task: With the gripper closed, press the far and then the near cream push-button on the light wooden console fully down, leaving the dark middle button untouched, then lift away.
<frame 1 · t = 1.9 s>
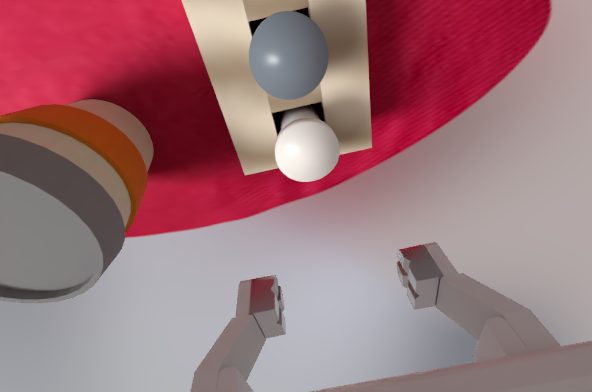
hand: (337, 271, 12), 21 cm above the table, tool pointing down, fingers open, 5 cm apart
console: (281, 39, 25), on the table
reusable coffee cup: (109, 141, 29), on the table
plunger middle: (286, 50, 20), point 7 cm above the table, slide at 0.0 cm
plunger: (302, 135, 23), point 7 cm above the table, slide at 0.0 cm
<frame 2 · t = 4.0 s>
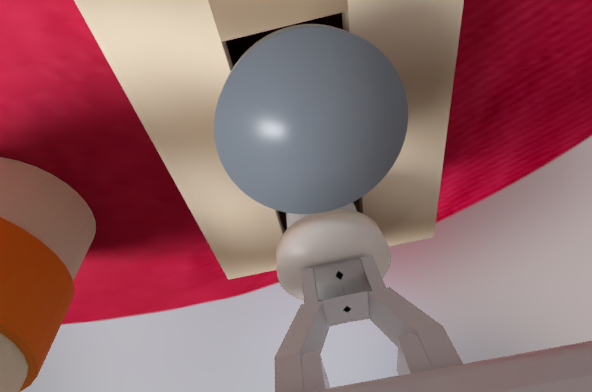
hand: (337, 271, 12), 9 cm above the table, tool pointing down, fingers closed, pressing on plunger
console: (286, 62, 15), on the table
reusable coffee cup: (25, 211, 20), on the table
plunger middle: (299, 99, 10), point 7 cm above the table, slide at 0.0 cm
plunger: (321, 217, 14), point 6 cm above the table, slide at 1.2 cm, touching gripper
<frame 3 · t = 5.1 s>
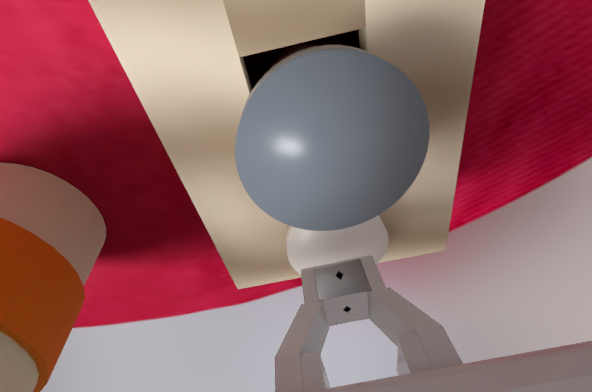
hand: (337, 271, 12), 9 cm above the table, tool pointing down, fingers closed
console: (299, 73, 15), on the table
reusable coffee cup: (38, 217, 20), on the table
plunger middle: (315, 114, 10), point 7 cm above the table, slide at 0.0 cm
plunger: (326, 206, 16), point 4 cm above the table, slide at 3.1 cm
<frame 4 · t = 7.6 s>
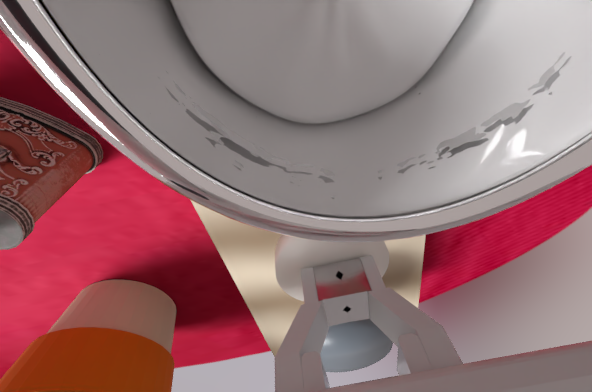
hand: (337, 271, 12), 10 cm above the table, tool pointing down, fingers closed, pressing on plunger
console: (318, 225, 23), on the table
lighter: (31, 129, 17), on the table
reusable coffee cup: (129, 306, 28), on the table
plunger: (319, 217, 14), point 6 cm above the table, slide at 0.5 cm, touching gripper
plunger middle: (335, 297, 18), point 7 cm above the table, slide at 0.0 cm
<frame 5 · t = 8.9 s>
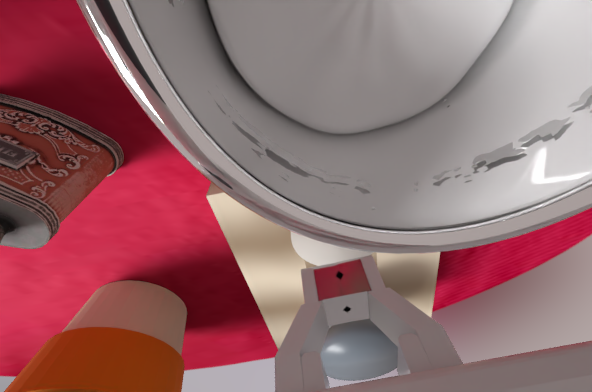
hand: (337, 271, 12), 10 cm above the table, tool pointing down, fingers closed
console: (331, 232, 24), on the table
lighter: (56, 133, 18), on the table
reusable coffee cup: (141, 307, 28), on the table
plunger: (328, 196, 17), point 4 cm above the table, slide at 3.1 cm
plunger middle: (349, 304, 18), point 7 cm above the table, slide at 0.0 cm
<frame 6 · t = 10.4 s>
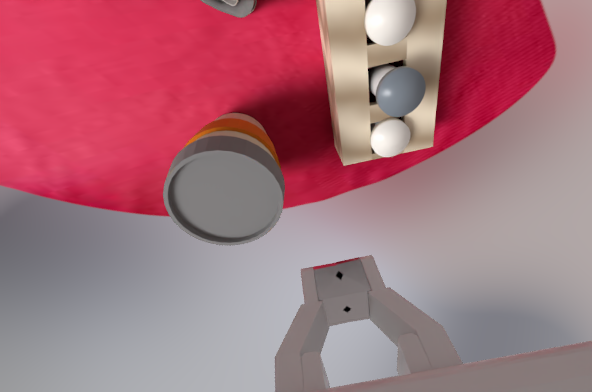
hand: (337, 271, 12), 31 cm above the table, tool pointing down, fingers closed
console: (371, 72, 37), on the table
reusable coffee cup: (238, 142, 41), on the table
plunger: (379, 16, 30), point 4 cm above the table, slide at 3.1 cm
plunger middle: (390, 85, 31), point 7 cm above the table, slide at 0.0 cm
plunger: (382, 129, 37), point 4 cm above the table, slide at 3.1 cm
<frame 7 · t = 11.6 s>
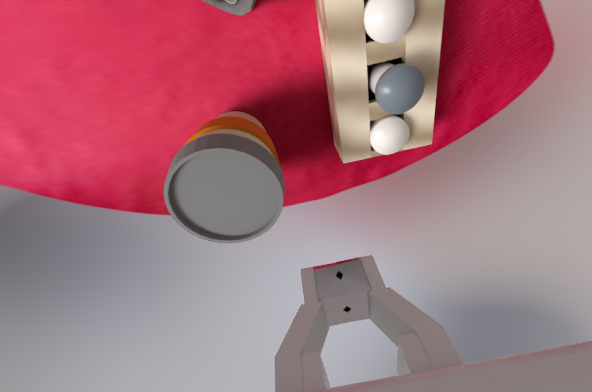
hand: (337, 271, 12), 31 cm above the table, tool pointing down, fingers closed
console: (370, 70, 37), on the table
reusable coffee cup: (237, 140, 41), on the table
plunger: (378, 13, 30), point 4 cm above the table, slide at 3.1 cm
plunger middle: (389, 82, 31), point 7 cm above the table, slide at 0.0 cm
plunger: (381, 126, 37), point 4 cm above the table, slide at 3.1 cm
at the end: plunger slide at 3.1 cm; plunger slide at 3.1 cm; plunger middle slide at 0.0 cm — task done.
